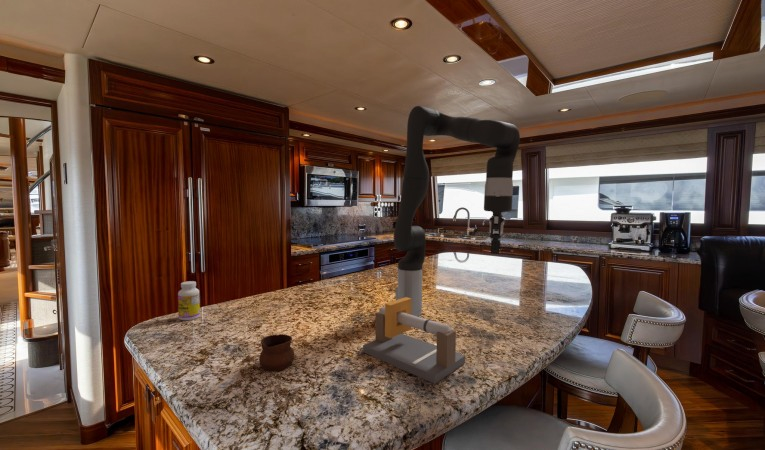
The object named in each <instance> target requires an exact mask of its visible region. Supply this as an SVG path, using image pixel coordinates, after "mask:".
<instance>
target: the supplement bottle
mask: <svg viewBox="0 0 765 450" xmlns="http://www.w3.org/2000/svg"><path fill="white" fill-rule="evenodd" d="M180 288H181V289H180V290H178V292H177V302H178V303H177V307H178V308H177V309H178V311H177V312H178V313H177V314H178V319H179V320H180V321H191V320H195V319H198V318H199V317H200V316H201V315H200V314H201V308H200V305H201V304H200V303H201V301H200V300H201V299H200V289H198V288H197V282H196V280H195V281H194V280H192V281H191V280H189V281H183V282H181V283H180Z"/></svg>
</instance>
